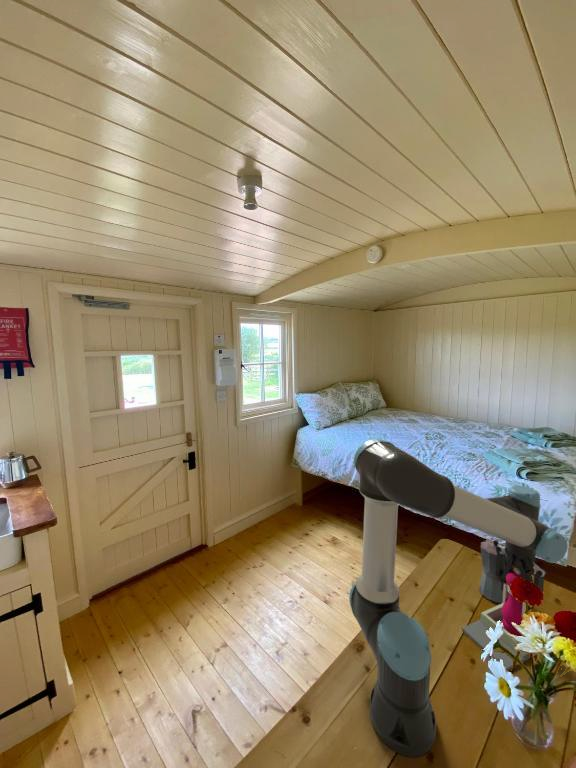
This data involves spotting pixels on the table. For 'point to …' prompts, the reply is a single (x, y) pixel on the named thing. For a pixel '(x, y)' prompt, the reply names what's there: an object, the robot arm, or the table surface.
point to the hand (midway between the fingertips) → (516, 608)
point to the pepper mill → (512, 606)
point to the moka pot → (490, 572)
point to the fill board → (480, 638)
